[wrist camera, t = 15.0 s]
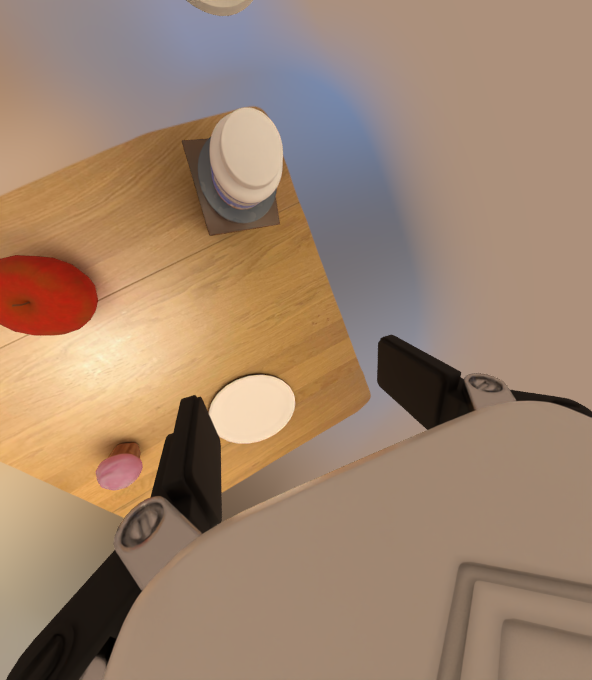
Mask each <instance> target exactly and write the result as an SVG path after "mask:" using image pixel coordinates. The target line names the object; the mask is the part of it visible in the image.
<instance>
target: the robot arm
mask: <svg viewBox="0 0 592 680" xmlns="http://www.w3.org/2000/svg"><path fill="white" fill-rule="evenodd" d="M460 376H461V372H460V371H458V370H456V369H454V368H453V367H451V366H449V365H447V364H445V363H444V362H442V361H440V360H438V359H436V358H434V357H433V356H431V355H429V354H427V353H425V352H423V351H421V350H420V349H418V348H416V347H414V346H412V345H410V344H409V343H407V342H405V341H403V340H401V339H399V338H398V337H396V336H394V335H389V336H385V337H383V338H381V340H380V341H379V343H378V370H377V382H378V384H379V386H380V387H381V388H382V389H383V390H384V391H385V392H386V393H387V394H389V395H390V396H391V397H392V398H393V399H394V400H395V401H396V402H397V403H398V404H400V405H401V406H402V407H403V408H404V409H405V410H406V411H408V412H409V414H411V415H412V416H413V417H414V418H415V419H416V420H417V421H418V422H419V423H420V424H422V425H423V426H424V427H425V428H426V429H427V431H424V432H422V433H420V434H417V435H415V436H413V437H410V438H408V439H405V440H403V441H401V442H399V443H396V444H394V445H392V446H389V447H387V448H385V449H383V450H380V451H378V452H376V453H373V454H371V455H368V456H366V457H364V458H362V459H359V460H357V461H355V462H352V463H350V464H348V465H346V466H343V467H341V468H339V469H336V470H334V471H332V472H329V473H327V474H325V475H323V476H320V477H318V478H316V479H314V480H311V481H309V482H307V483H305V484H302V485H300V486H298V487H295V488H293V489H291V490H289V491H286V492H284V493H282V494H280V495H278V496H275V497H273V498H271V499H269V500H267V501H264V502H262V503H260V504H258V505H256V506H254V507H251V508H249V509H247V510H245V511H243V512H241V513H239V514H237V515H235V516H233V517H231V518H229V519H227V520H225V521H223V522H221V521H222V508H221V506H222V503H221V443H220V438H219V436H218V433H217V431H216V429H215V427H214V424H213V422H212V420H211V418H210V415H209V413H208V411H207V409H206V407H205V404H204V402H203V400H202V398H201V397H198V398H197V397H196V395H193V396H190V397H187V398H184V399H181V402H180V406H179V411H178V415H177V419H176V424H175V428H174V433H172V434H169V435H168V436H167V437H166V440H165V444H164V448H163V451H162V455H161V459H160V463H159V467H158V471H157V475H156V478H155V482H154V486H153V490H152V494H151V498H148V499H146V500H144V501H143V502H141V503H139V504H138V505H137V506H136V507H134V508H133V509H132V510H131V511H130V512H129V513H128V514H127V515H126V517H125V518H124V519H123V521H122V522H121V524H120V525H119V527H118V529H117V532H116V534H115V538H114V547H115V550H114V552H113V553H112V554H111V555H110V556H109V557H108V558H107V559H106V560H105V562H104V563H103V564H102V565H101V566H100V567H99V568H98V569H97V570H96V572H95V573H94V574H93V575H92V576H91V577H90V578H89V579H88V580H87V581H86V583H85V584H84V585H83V586H82V587H81V588H80V589H79V590H78V592H77V593H76V594H75V595H74V596H73V597H72V598H71V599H70V601H69V602H68V603H67V604H66V605H65V606H64V607H63V608H62V610H60V612H59V613H58V614H57V615H56V616H55V617H54V618H53V619H52V620H51V622H50V623H49V624H48V625H47V626H46V627H45V628H44V630H42V632H41V633H40V634H39V635H38V636H37V637H36V638H35V639H34V640H33V642H32V643H31V644H30V645H29V647H28V648H27V649H26V650H25V652H24V653H23V654H22V655H21V657H20V658H19V659H18V661H17V663H16V664H15V666H14V667H13V669H12V670H11V672H10V674H9V675H8V677H7V679H6V680H592V411H590V410H589V409H588V408H586V407H585V406H583V405H581V404H579V403H578V402H575V401H573V400H570V399H567V398H561V397H555V396H548V395H542V394H535V393H528V392H521V391H514V390H510V389H509V388H508V387H507V385H506V384H505V383H504V382H503V381H501V380H500V379H498V378H495V377H494V376H490V375H487V374H481V373H474V374H469V375H467V376H466V377H465V378H464V379H462V378H461V377H460ZM217 524H218V525H217Z"/></svg>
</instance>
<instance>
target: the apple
mask: <svg viewBox="0 0 592 680" xmlns="http://www.w3.org/2000/svg"><path fill="white" fill-rule="evenodd" d="M97 302H98V298H97V293H96V288H95V285H94V284H93V282H92V281H91V280H90V278H89V277H88V276H87V275H85V274H84V273H83V272H81V271H80V270H79V269H77V268H76V267H75V266H73V265H72V264H70V263H67V262H64V261H61V260H58V259H55V258H50V257H40V256H21V255H15V256H10V257H6V258H2V259H0V325H2V326H4V327H7V328H9V329H11V330H13V331H15V332H20V333H25V334H30V335H62V334H66V333H69V332H72V331H75V330H78V329H80V328H81V327H83V326H84V325H85V324H86V323H87V322H88V321H89V320H91V318H92V316H93V314H94V313H95V311H96V307H97Z"/></svg>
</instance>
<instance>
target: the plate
mask: <svg viewBox="0 0 592 680" xmlns="http://www.w3.org/2000/svg"><path fill="white" fill-rule="evenodd" d="M294 408H295V398H294V393H293V392H292V390H291V388H290V387H289V385H287V384H286V383H285V382H284V381H283V380H281V379H278V378H276V377H274V376H269V375H262V374H261V375H250V376H246V377H243V378H240V379H237V380H235V381H233V382H232V383H230V384H228V385H226V386H225V387H224V388H223V389H222V390H221V391H220V392H219V393H218V394H217V395H216V397H215V398H214V400H213V401H212V403H211V406H210V409H209V415H210V418H211V420H212V422H213V424H214V427H215V429H216V431H217V433H218V436H219V437H221V438H223V439H225V440H227V441H230V442H234V443H254V442H259V441H261V440H264V439H267V438H269V437H271V436H272V435H274V434H276V433H277V432H279V431H280V430H281V429H282V428H283V427H284V426H285V425H286V424H287V423H288V421H289V420H290V419H291V416H292V414H293V412H294Z"/></svg>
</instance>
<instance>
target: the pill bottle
mask: <svg viewBox="0 0 592 680" xmlns="http://www.w3.org/2000/svg"><path fill="white" fill-rule="evenodd" d="M282 160H283V147H282V142H281V138H280V135H279V133H278V130H277V129H276V127H275V125H274V124H273V122H272V121H271V120H270V119H269V118H268V117H267V116H266V115H265V114H264V113H262V112H261V111H259V110H257V109H254V108H249V107H245V108H240V109H237V110H235V111H234V112H232V113H231V114H228V115H226V116H225V117H223V118H222V119H221V120H220V121H219V122H218V123H217V125H216V126H215V128H214V130H213V133H212V136H211V140H210V163H211V175H212V181H213V184H214V187H215V189H216V191H217V193H218V194H219V196H220V197H221V198H222V199H223V200H224V201H225V202H226V203H227V204H228V205H230V206H232V207H234V208H236V209H249V208H252V207H254V206H256V205H257V204H259V203H260V202H262V201H263V200H265V199H266V198H268V197H269V196H270V195H271V194H272V193H273V192H274V191H275V189H276V188H277V186H278V184H279V182H280V179H281V175H282V165H283V163H282Z"/></svg>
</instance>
